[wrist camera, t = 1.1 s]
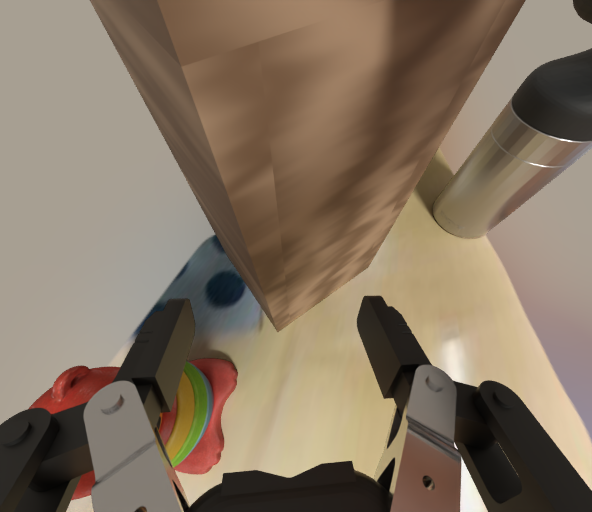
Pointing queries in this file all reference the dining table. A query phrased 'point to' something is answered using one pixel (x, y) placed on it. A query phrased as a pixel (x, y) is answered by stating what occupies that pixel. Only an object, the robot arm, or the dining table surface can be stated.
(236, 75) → the walnut shelf
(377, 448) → the dining table surface
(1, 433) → the robot arm
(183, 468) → the stacking bear
